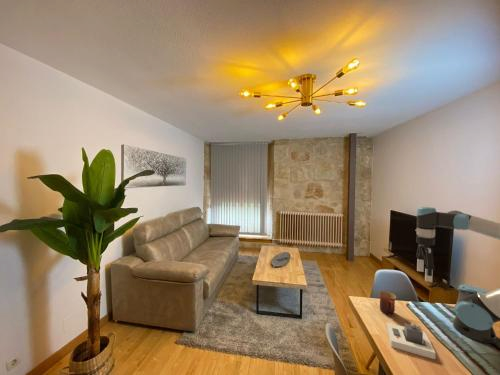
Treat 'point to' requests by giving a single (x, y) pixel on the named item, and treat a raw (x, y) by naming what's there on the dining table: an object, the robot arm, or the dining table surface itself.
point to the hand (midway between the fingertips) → (424, 276)
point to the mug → (387, 302)
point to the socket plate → (400, 342)
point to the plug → (413, 333)
